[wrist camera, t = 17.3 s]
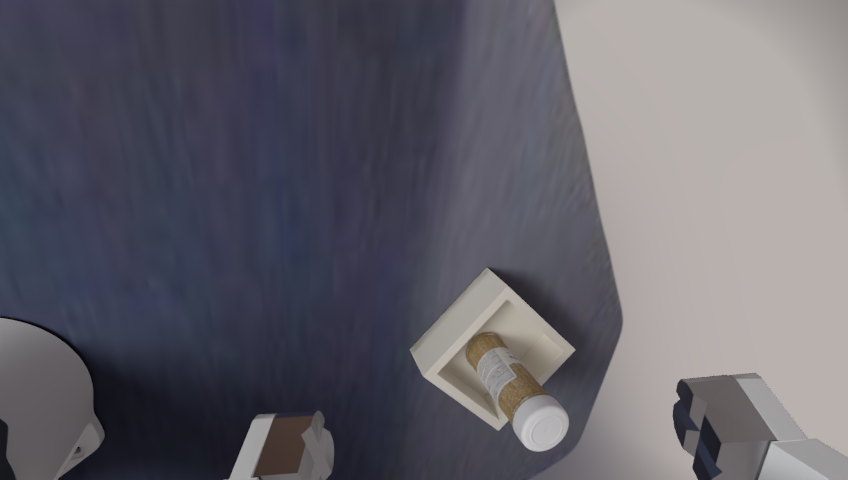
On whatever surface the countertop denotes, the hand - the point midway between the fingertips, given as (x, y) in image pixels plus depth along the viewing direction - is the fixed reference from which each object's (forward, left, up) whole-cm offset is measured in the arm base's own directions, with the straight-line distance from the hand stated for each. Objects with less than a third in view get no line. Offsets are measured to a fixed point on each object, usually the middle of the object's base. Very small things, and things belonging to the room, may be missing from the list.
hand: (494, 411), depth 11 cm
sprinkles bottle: (-4, -25, -33) cm, 42 cm away
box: (-3, -25, -34) cm, 43 cm away
